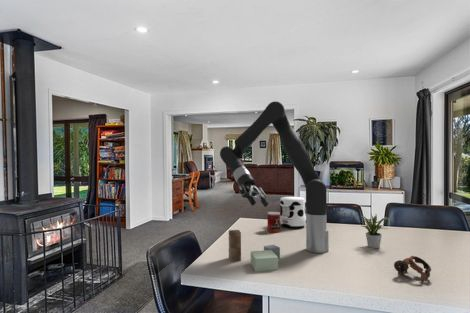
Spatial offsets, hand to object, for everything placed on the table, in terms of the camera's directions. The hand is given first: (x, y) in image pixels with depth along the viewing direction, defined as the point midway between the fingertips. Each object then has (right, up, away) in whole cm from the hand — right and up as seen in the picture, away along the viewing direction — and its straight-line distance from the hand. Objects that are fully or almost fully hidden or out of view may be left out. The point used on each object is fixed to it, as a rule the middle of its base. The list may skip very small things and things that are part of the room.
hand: (260, 205), depth 122 cm
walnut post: (-11, -23, -1) cm, 26 cm away
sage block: (0, -23, -9) cm, 25 cm away
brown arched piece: (+53, -23, -20) cm, 61 cm away
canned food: (+12, -24, +46) cm, 53 cm away
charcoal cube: (+5, -23, 0) cm, 24 cm away
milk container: (+26, -24, +59) cm, 69 cm away
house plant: (+57, -23, +14) cm, 63 cm away
